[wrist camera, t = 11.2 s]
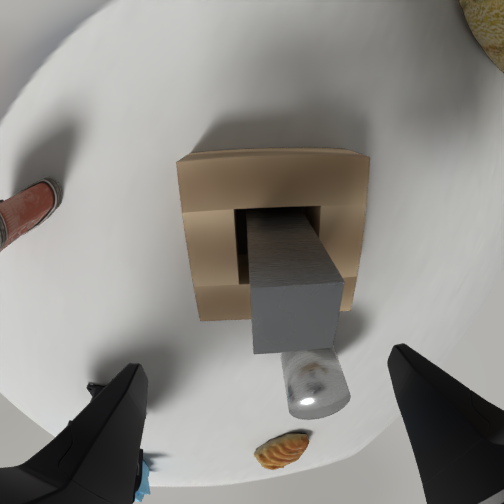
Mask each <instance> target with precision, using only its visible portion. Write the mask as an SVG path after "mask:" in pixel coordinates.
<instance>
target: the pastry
mask: <svg viewBox="0 0 504 504" xmlns="http://www.w3.org/2000/svg"><path fill="white" fill-rule="evenodd" d="M308 444H309V440H308V436H307V434H285V435H283V436H281V437H278V438H275V439H272V440H269V442H267V443H265V444H263V445H261V446H260V447H258V449H257V450H256V451H255V453H254V456H255V457H256V459H257V461H258V462H259V463H260V464H261V465H262V466H263V467H264V468H267V469H271V470H275V469H278V468H284V466H285V465H288V464H290V463H292V462H295V461H296V460H298V459H299V457H300V456H301V455H302V454H303V453H304V451H305V450H306V448H307V446H308Z"/></svg>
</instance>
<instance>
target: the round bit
mask: <svg viewBox="0 0 504 504" xmlns="http://www.w3.org/2000/svg"><path fill="white" fill-rule="evenodd" d="M281 362H282V369H283V375H284V382H285V388H286V395H287V401H288V408H289V413H290V414H291V415H292V416H293V417H296V418H298V419H305V420H311V419H319V418H323V417H327V416H329V415H332V414H334V413H336V412H338V411H339V410H341V409H342V408H344V407H345V406H346V405H347V403H348V402H349V400H350V392H349V389H348V386H347V383H346V380H345V377H344V374H343V371H342V368H341V365H340V363H339V360H338V357H337V354H336V351H335V348H334V346H332V347H330V348H321V349H313V350H303V351H292V352H282V354H281Z"/></svg>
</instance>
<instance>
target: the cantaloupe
mask: <svg viewBox="0 0 504 504" xmlns="http://www.w3.org/2000/svg"><path fill="white" fill-rule="evenodd" d="M459 2H460V5H461V7H462V9H463V11H464V16H465V18H466V20H467V23H468V25H469V27H470V29H471V32H472V34H473V35H474V37H475V38H476V40H477V41H478V42H479V44H480V45H481V47H482V48H483V50H484V51H485V53H486V54H487V55H488V57H489V58H490V59H491V60H492V62H494V63H495V65H496V66H497V67H498V68H499V69H500V70H501V71H502V72H503V73H504V0H459Z"/></svg>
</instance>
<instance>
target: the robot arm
mask: <svg viewBox="0 0 504 504" xmlns="http://www.w3.org/2000/svg"><path fill="white" fill-rule="evenodd" d="M387 364H388V369H389V373H390V376H391V380H392V385H393V389H394V393H395V397H396V400H397V403H398V406H399V409H400V412H401V415H402V417H403V420H404V423H405V426H406V430H407V433H408V436H409V439H410V442H411V445H412V449H413V452H414V455H415V458H416V462H417V466H418V469H419V473H420V477H421V481H422V484H423V488H424V493H425V497H426V502H427V504H504V410H502V409H500V408H498V407H496V406H495V405H493V404H491V403H489V402H488V401H486V400H485V399H483V398H482V397H480V396H479V395H477V394H476V393H475V392H473V391H472V390H470V389H469V388H467V387H466V386H464V385H463V384H462V383H460V382H459V381H458V380H456V379H455V378H453V377H452V376H450V375H449V374H448V373H446V372H445V371H443V370H442V369H440V368H439V367H438V366H436V365H435V364H433V363H432V362H430V361H429V360H428V359H426V358H425V357H423V356H422V355H420V354H419V353H417V352H416V351H415V350H413V349H412V348H410V347H409V346H407V345H406V344H403V343H402V344H397V345H394V346H393V348H392V351H391V353H390V356H389V358H388V363H387ZM147 388H148V379H147V376H146V374H145V372H144V370H143V368H142V366H141V364H139V363H129V364H128V365H127V366H126V367H125V368H124V369H123V370H122V371H121V372H120V373H119V374H118V375H117V376H116V377H115V378H114V379H113V380H112V381H111V382H110V383H109V384H108V385H107V386H106V387H102V386H96V385H90V384H88V385H87V389H88V391H89V392H90V394H91V395H92V399H91V401H90V403H89V404H88V405H87V406H86V407H85V408H84V409H83V410H82V411H81V412H80V413H79V414H78V415H77V416H76V417H75V418H74V419H73V420H72V421H70V420H69V423H68V425H67V427H66V428H65V429H64V430H63V431H62V432H61V433H60V434H58V435H57V436H56V437H55V438H54V439H53V440H52V441H51V442H50V443H49V444H47V445H46V446H45V447H44V448H43V449H41V450H40V451H39V452H38V453H36V454H35V455H34V456H33V457H31V458H30V459H29V460H28V461H26V462H25V463H23V464H21V465H18V466H14V467H5V468H0V504H133V502H134V501H135V493H136V492H137V491H138V489H139V487H140V485H141V481H142V469H143V449H140V445H141V439H142V433H143V428H144V422H145V419H146V415H145V414H146V400H147Z"/></svg>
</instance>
